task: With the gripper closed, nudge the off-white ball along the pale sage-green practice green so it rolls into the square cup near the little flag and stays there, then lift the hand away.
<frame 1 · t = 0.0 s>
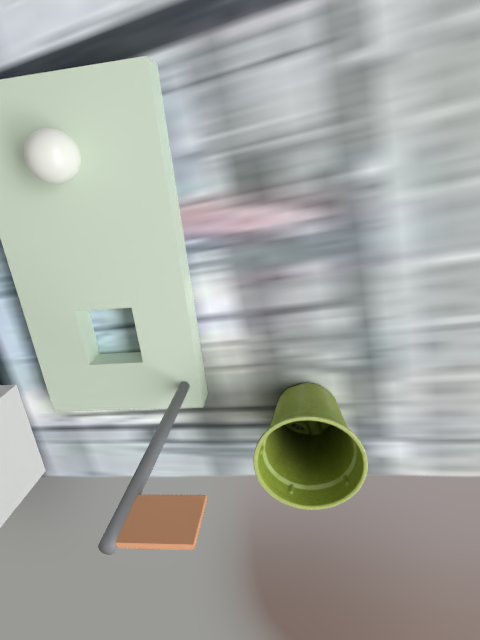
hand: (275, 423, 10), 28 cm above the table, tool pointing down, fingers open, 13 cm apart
green: (104, 258, 39), on the table
ball: (53, 156, 31), point 4 cm above the table, touching green
plant pot: (306, 406, 42), on the table
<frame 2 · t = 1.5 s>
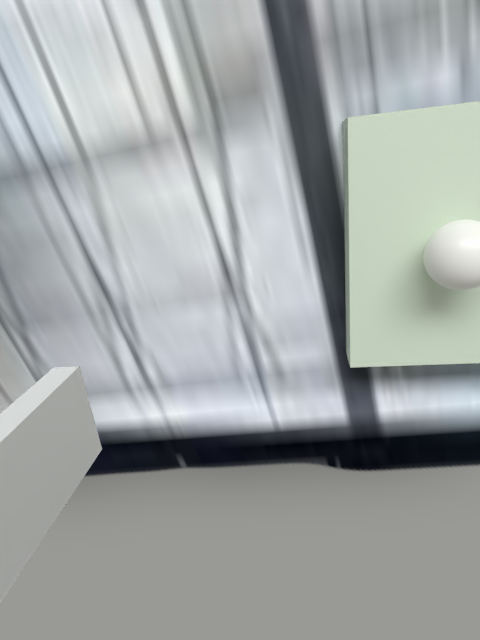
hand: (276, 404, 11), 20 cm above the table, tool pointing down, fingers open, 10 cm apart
ball: (461, 255, 23), point 4 cm above the table, touching green
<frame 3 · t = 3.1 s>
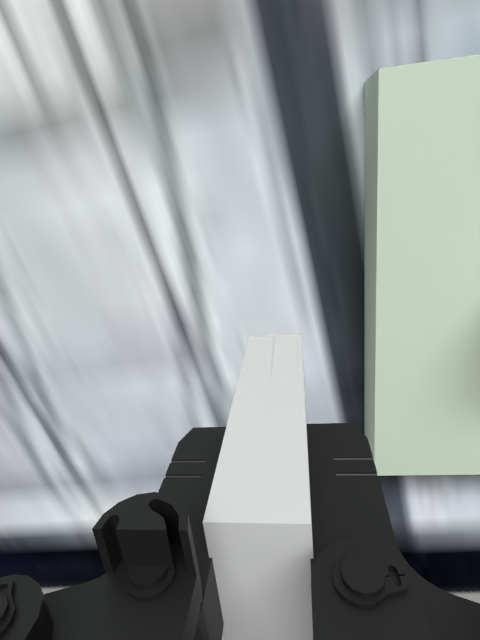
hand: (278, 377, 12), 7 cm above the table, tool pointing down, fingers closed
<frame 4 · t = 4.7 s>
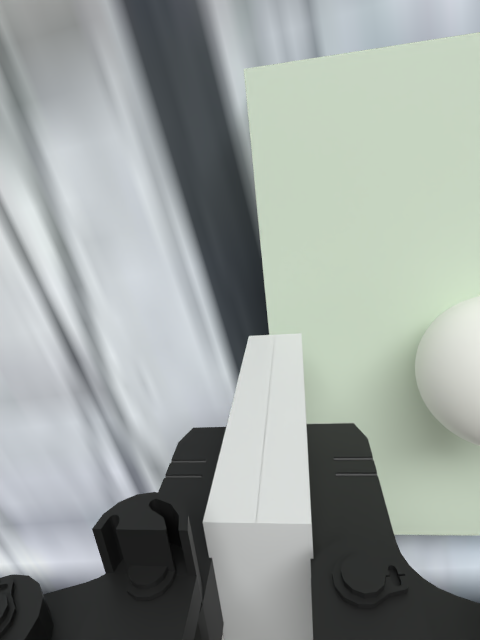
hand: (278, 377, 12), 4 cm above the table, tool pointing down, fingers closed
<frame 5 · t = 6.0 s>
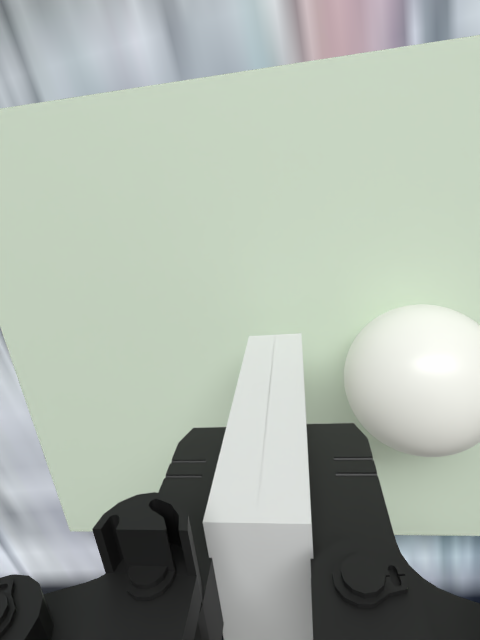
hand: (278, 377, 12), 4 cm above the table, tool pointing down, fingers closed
green: (430, 312, 15), on the table
ball: (420, 378, 11), point 4 cm above the table, tilted 151°, touching green
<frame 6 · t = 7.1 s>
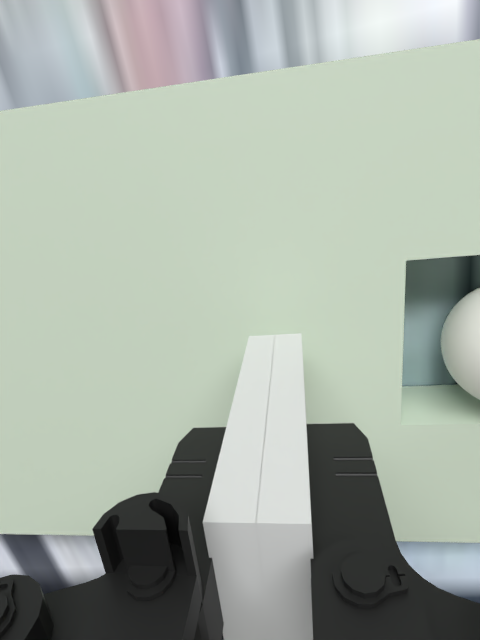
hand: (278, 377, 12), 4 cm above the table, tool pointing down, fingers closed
green: (271, 326, 16), on the table
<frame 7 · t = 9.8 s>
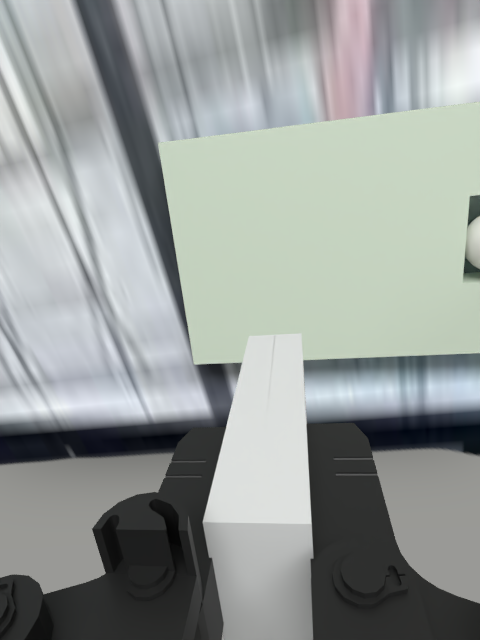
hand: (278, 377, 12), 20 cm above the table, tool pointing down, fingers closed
green: (389, 240, 29), on the table
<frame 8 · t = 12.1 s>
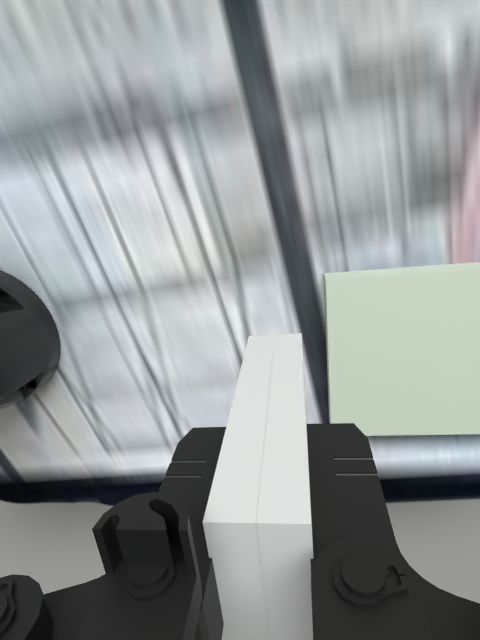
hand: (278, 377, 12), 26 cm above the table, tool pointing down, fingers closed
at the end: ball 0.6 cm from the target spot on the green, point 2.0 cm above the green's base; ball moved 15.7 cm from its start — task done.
